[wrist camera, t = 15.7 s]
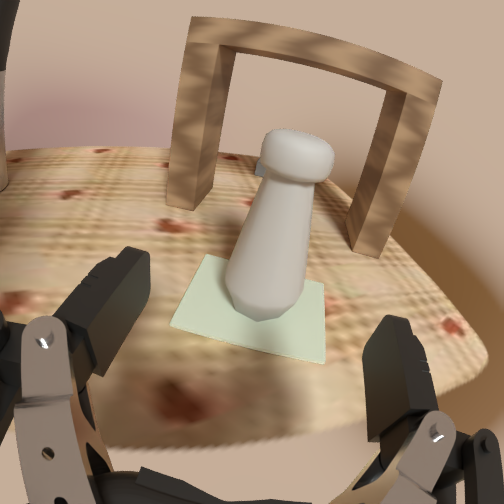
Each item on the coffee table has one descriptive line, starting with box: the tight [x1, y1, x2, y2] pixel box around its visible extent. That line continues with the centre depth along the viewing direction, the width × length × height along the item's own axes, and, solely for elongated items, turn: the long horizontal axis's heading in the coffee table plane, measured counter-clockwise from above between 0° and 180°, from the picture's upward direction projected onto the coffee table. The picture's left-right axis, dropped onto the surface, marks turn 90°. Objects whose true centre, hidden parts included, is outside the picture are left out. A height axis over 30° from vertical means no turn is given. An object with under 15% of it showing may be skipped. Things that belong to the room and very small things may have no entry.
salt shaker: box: [225, 129, 335, 322], centre depth 20 cm, size 6×6×13 cm
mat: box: [170, 254, 325, 364], centre depth 23 cm, size 11×9×1 cm
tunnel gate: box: [166, 16, 443, 259], centre depth 31 cm, size 26×8×22 cm, turn 80°
